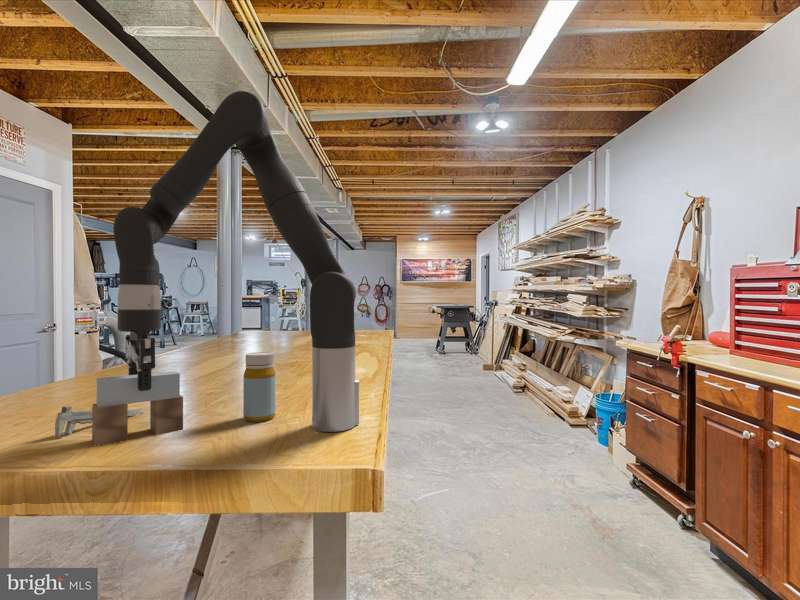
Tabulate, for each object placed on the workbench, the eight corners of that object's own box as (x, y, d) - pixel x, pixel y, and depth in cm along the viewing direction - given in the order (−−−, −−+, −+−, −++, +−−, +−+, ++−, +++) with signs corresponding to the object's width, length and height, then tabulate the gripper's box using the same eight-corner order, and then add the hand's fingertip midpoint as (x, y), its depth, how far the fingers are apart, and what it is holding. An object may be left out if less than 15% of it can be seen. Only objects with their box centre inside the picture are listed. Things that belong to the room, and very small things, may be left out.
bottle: (262, 423, 92) (262, 356, 93) (236, 421, 95) (236, 354, 95) (281, 415, 99) (281, 352, 99) (256, 413, 101) (256, 351, 101)
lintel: (176, 394, 91) (176, 371, 91) (179, 397, 88) (179, 373, 88) (96, 403, 82) (96, 378, 82) (97, 407, 79) (97, 381, 79)
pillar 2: (176, 424, 92) (176, 392, 92) (183, 429, 88) (183, 396, 89) (150, 429, 89) (150, 396, 89) (156, 434, 85) (156, 400, 85)
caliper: (59, 440, 82) (59, 408, 83) (54, 440, 83) (55, 408, 83) (145, 413, 102) (145, 387, 102) (141, 413, 103) (141, 387, 103)
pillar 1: (122, 434, 85) (122, 400, 85) (127, 440, 82) (127, 404, 82) (92, 440, 82) (92, 404, 82) (96, 446, 78) (96, 409, 78)
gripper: (169, 307, 83) (169, 390, 83) (151, 307, 93) (151, 380, 93) (125, 308, 78) (124, 395, 77) (111, 307, 88) (111, 384, 88)
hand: (139, 387), depth 85 cm, fingers open, 8 cm apart
